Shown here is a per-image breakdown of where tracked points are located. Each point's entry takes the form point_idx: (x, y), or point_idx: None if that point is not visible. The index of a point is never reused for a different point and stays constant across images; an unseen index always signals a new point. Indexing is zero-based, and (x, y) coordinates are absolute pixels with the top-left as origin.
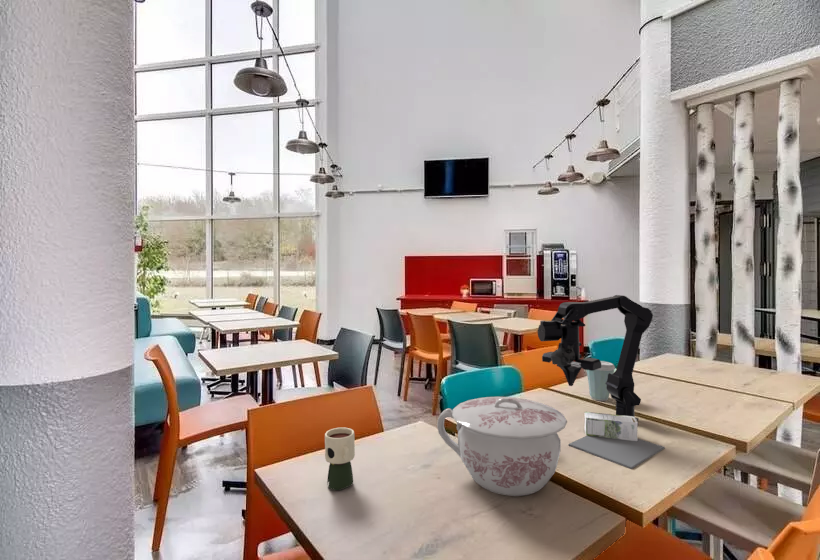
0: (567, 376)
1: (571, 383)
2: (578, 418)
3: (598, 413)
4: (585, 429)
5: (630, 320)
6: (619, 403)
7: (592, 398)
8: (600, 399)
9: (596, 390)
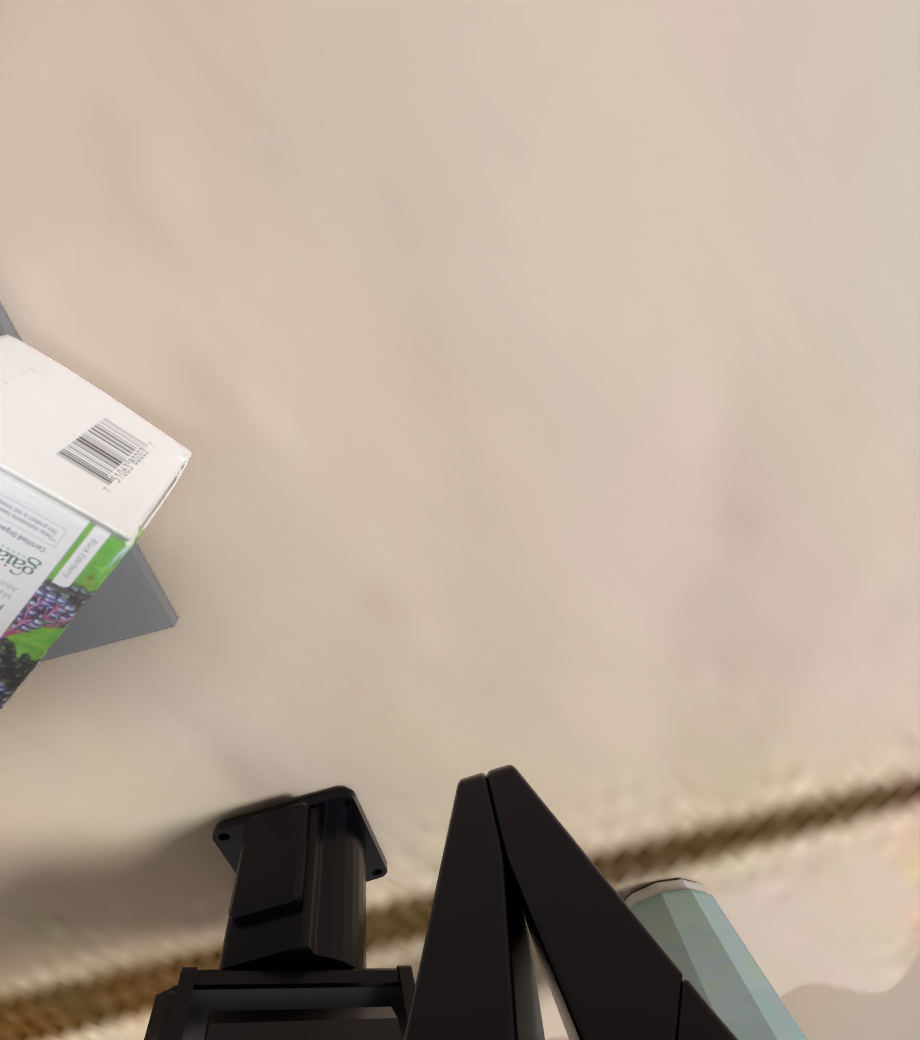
0: (597, 1006)
1: (447, 839)
2: (466, 598)
3: (17, 647)
4: (34, 372)
5: None
6: (272, 951)
7: (680, 882)
8: (632, 905)
9: (678, 959)
